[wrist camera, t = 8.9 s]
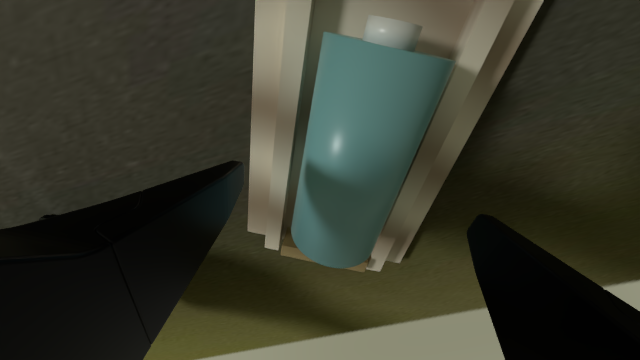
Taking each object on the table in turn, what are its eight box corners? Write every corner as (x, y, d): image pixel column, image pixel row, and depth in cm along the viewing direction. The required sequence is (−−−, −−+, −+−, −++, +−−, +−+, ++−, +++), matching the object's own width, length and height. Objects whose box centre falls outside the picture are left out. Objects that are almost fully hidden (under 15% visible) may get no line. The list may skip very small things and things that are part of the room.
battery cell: (369, 213, 17) (378, 275, 13) (297, 199, 17) (283, 258, 12) (438, 34, 11) (497, 38, 7) (330, 10, 11) (323, -1, 7)
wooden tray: (397, 255, 20) (403, 283, 17) (251, 224, 20) (238, 248, 17) (551, -36, 10) (607, -53, 8) (265, -100, 10) (241, -136, 8)
